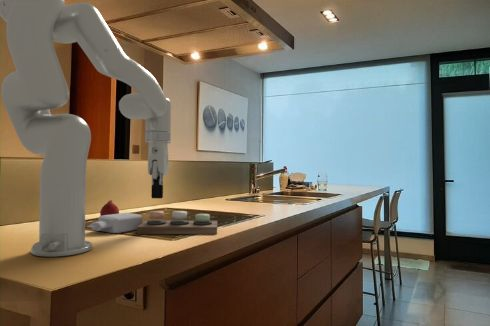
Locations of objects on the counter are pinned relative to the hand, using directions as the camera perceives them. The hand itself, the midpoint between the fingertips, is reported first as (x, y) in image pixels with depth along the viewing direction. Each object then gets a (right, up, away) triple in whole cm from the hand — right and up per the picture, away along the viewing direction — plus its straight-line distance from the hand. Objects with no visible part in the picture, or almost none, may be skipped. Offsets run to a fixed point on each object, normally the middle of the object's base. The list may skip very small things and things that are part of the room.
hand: (157, 197), depth 112 cm
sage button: (+14, -7, +1) cm, 16 cm away
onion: (-18, -10, +9) cm, 22 cm away
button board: (+7, -10, 0) cm, 12 cm away
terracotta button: (0, -6, 0) cm, 6 cm away
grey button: (+7, -6, 0) cm, 9 cm away
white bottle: (-13, -10, -3) cm, 17 cm away
